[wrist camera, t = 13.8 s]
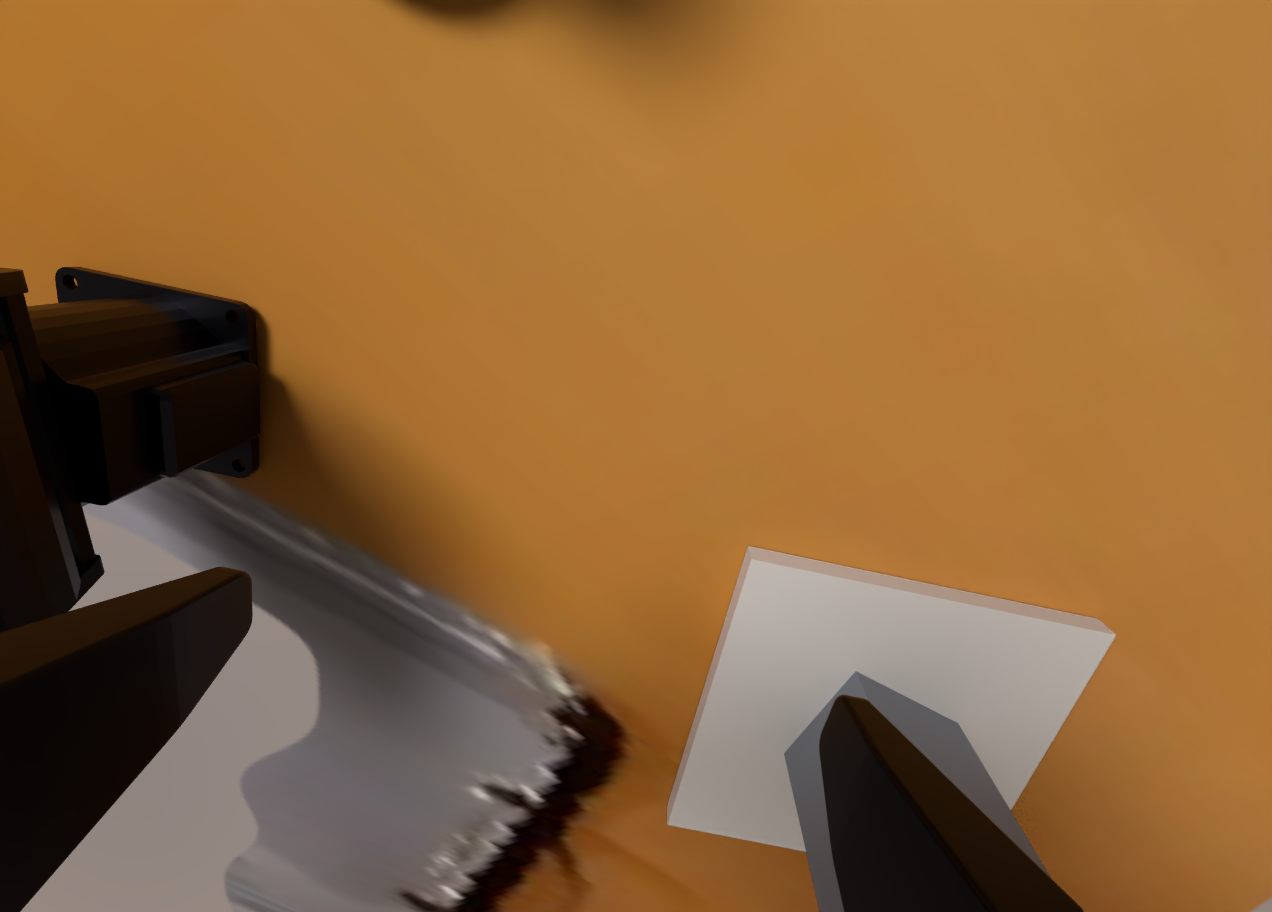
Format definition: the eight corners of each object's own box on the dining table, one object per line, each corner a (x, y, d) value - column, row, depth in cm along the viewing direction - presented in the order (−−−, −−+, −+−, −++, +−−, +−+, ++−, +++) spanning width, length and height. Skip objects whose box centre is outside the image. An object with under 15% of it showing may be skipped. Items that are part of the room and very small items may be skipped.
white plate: (667, 804, 28) (667, 824, 27) (747, 545, 23) (751, 559, 22) (956, 861, 28) (966, 883, 27) (1097, 618, 23) (1116, 635, 22)
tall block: (783, 753, 25) (896, 1250, 13) (855, 670, 23) (1064, 1150, 11) (881, 800, 25) (1079, 1317, 13) (958, 723, 24) (1263, 1231, 12)
